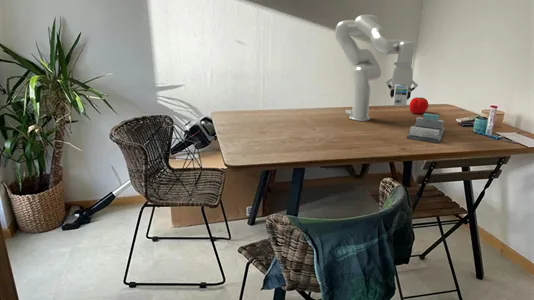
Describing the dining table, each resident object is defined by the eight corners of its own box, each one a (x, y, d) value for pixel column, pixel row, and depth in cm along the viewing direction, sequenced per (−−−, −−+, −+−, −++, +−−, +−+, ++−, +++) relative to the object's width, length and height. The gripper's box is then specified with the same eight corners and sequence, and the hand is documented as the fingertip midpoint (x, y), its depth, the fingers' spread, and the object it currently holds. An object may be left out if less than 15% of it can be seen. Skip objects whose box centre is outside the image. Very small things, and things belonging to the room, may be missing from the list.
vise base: (406, 138, 221) (407, 127, 219) (414, 126, 242) (415, 116, 240) (439, 143, 215) (441, 132, 213) (444, 130, 236) (445, 120, 234)
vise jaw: (415, 125, 238) (416, 114, 236) (417, 122, 243) (418, 112, 241) (442, 128, 233) (443, 118, 231) (443, 126, 238) (444, 115, 236)
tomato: (403, 111, 274) (405, 96, 270) (418, 110, 279) (420, 94, 276) (416, 116, 264) (419, 99, 261) (431, 114, 270) (434, 98, 266)
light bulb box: (406, 106, 227) (409, 86, 223) (393, 105, 228) (395, 85, 224) (404, 101, 236) (407, 82, 233) (392, 100, 238) (394, 81, 234)
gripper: (386, 64, 225) (382, 97, 232) (420, 67, 218) (415, 101, 224) (388, 63, 232) (385, 94, 238) (422, 66, 225) (417, 98, 231)
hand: (399, 97), depth 231 cm, fingers closed on light bulb box, 7 cm apart
